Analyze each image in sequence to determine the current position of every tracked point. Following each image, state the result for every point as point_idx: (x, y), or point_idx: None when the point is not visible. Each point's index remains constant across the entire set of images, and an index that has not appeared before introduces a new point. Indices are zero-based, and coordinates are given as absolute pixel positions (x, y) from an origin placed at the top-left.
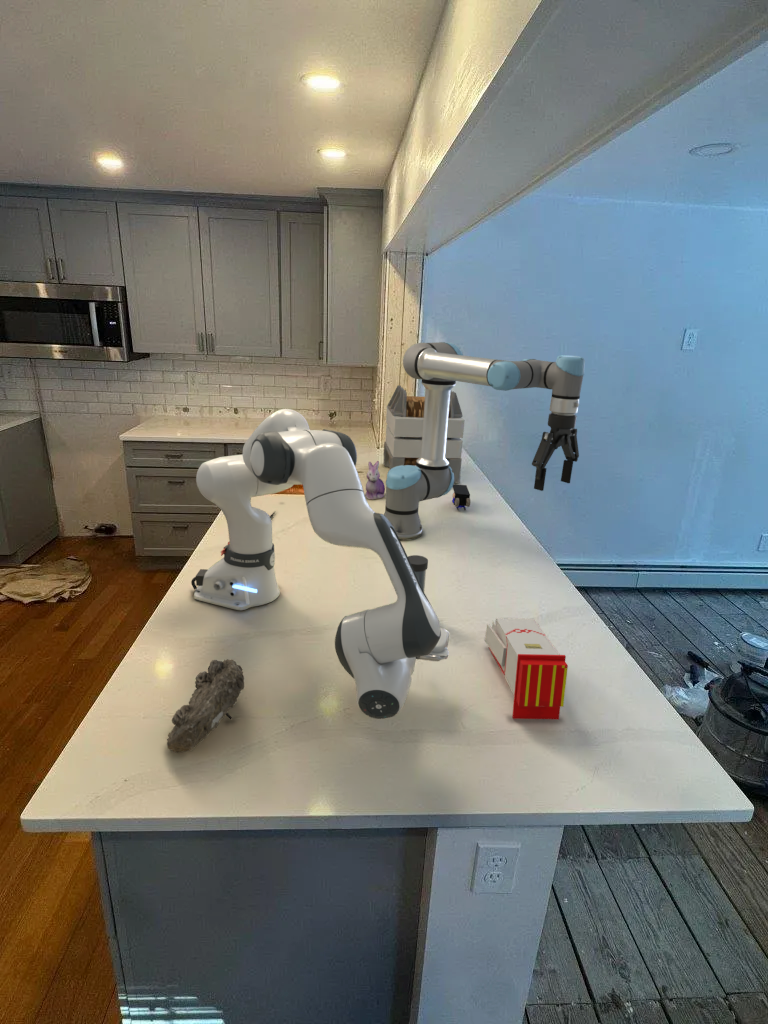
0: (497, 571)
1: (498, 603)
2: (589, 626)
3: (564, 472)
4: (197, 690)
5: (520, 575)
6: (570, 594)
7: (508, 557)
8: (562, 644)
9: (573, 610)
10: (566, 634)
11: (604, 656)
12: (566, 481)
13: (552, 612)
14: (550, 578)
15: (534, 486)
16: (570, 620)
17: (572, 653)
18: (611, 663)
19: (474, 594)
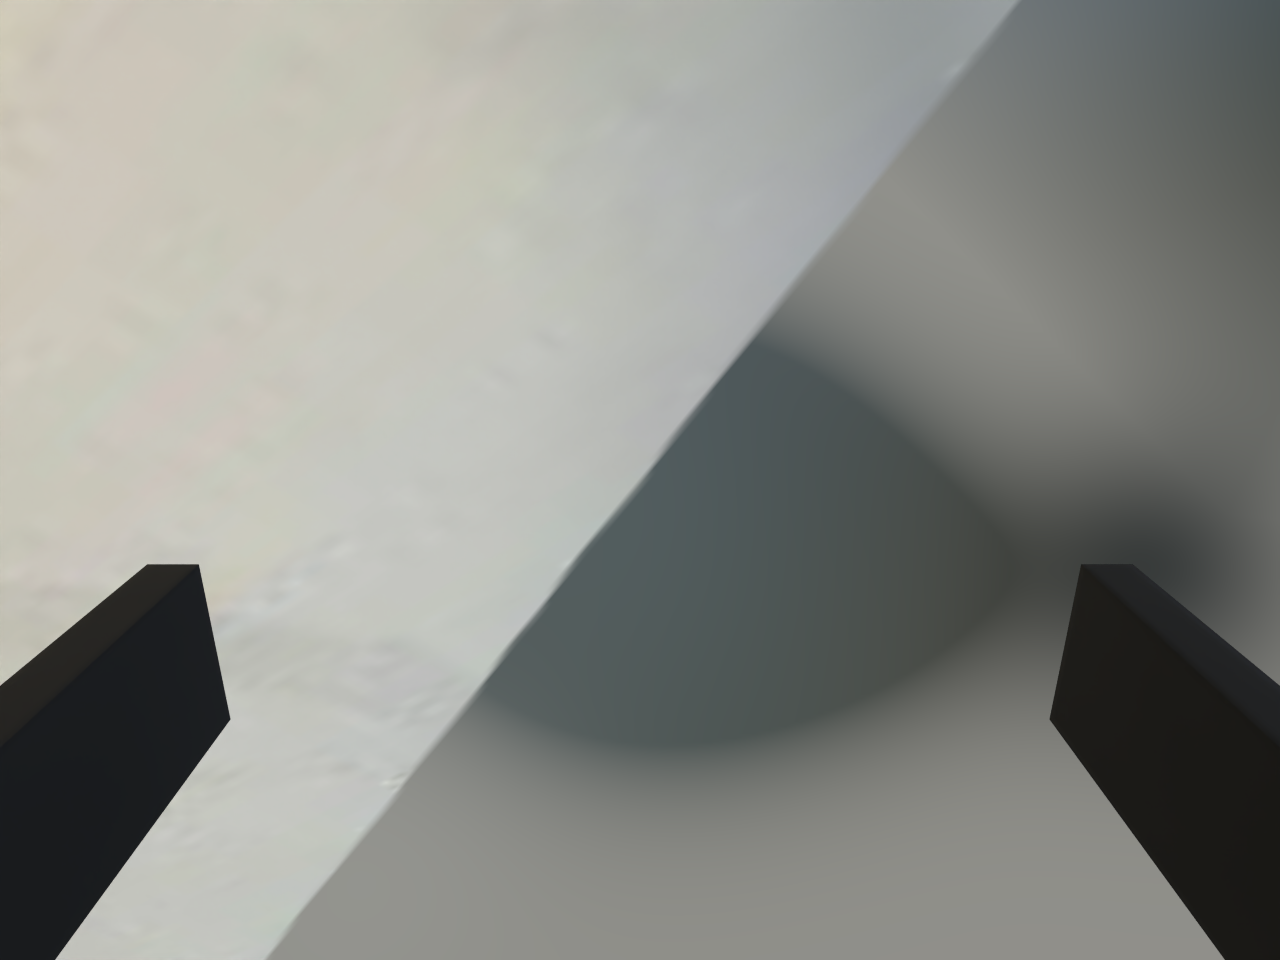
0: (402, 125)
1: (97, 420)
2: (351, 788)
3: (1188, 738)
4: None
5: (495, 268)
6: (546, 588)
7: (671, 2)
8: None
9: (410, 681)
10: (201, 767)
11: (214, 913)
12: (1071, 691)
13: (298, 636)
14: (626, 412)
15: (124, 592)
16: (316, 719)
17: None
18: (200, 943)
19: (28, 262)
